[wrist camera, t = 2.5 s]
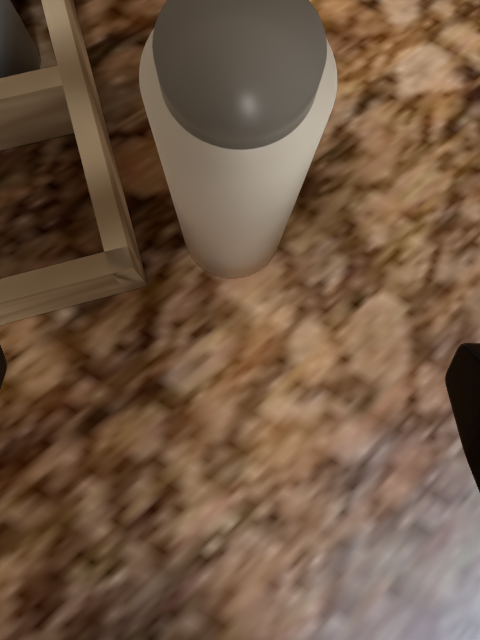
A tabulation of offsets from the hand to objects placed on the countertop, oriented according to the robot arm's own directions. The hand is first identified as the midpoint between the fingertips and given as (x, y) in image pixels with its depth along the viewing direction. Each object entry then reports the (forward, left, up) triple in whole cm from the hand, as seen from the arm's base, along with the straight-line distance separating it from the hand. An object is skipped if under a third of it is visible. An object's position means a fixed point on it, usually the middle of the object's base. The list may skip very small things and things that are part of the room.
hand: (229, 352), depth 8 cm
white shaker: (+2, -7, -13) cm, 15 cm away
